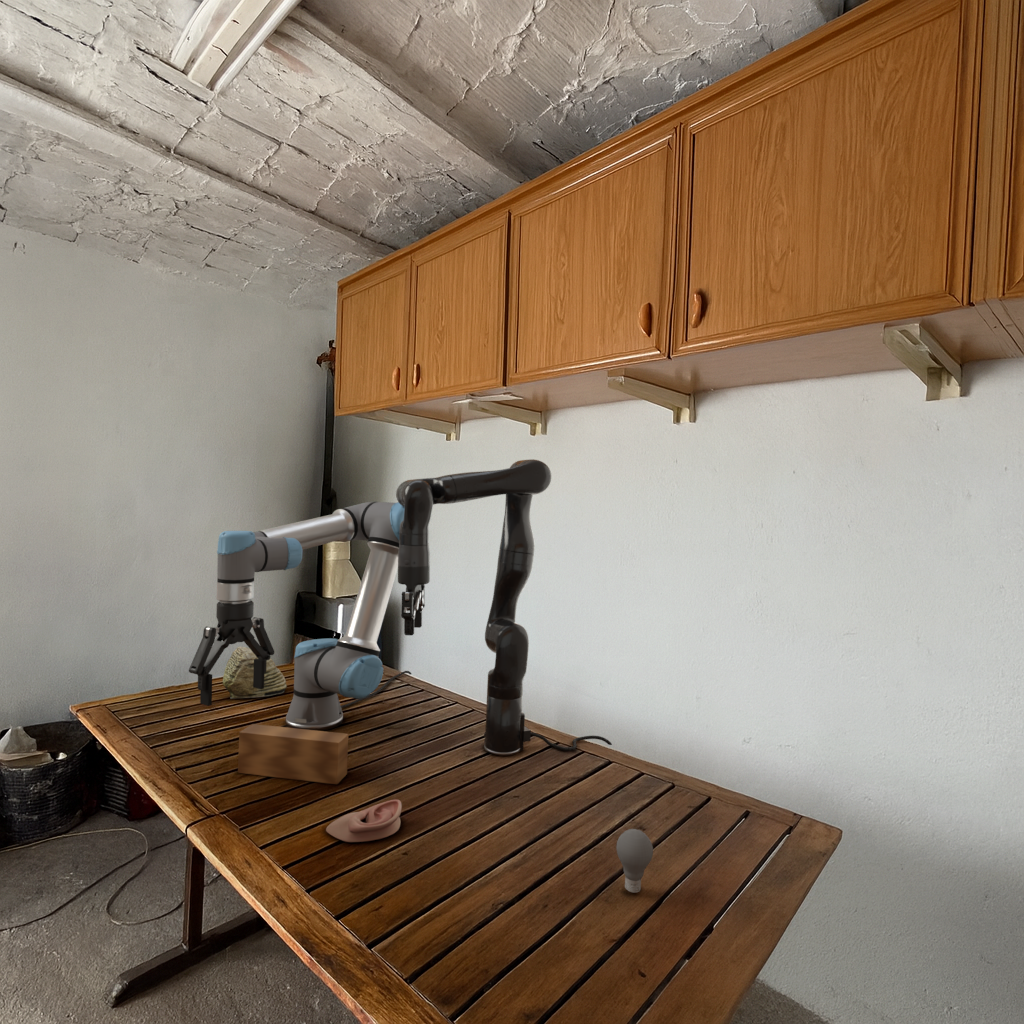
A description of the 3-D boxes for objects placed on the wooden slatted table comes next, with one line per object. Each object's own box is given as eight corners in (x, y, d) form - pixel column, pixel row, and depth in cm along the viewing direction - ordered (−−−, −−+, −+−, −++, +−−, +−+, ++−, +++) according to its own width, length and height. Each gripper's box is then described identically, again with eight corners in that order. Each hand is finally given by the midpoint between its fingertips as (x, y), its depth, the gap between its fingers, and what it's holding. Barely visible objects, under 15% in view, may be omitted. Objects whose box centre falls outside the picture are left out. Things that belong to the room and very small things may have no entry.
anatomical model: (318, 816, 117) (346, 789, 129) (317, 837, 118) (346, 808, 129) (385, 827, 115) (408, 798, 126) (384, 848, 115) (407, 818, 126)
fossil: (218, 695, 195) (220, 647, 195) (278, 685, 208) (279, 640, 207) (228, 703, 189) (230, 653, 188) (289, 692, 201) (290, 645, 201)
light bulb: (610, 879, 108) (613, 822, 108) (644, 879, 109) (647, 822, 109) (619, 902, 102) (622, 840, 102) (655, 901, 103) (658, 840, 103)
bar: (237, 772, 143) (239, 732, 143) (251, 763, 149) (252, 723, 149) (336, 784, 140) (338, 742, 140) (347, 774, 145) (348, 733, 145)
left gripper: (194, 611, 127) (192, 715, 128) (291, 595, 149) (289, 684, 150) (171, 606, 131) (169, 708, 131) (269, 592, 153) (267, 679, 153)
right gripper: (423, 567, 143) (422, 638, 144) (435, 560, 158) (434, 625, 158) (390, 566, 144) (390, 637, 144) (405, 559, 158) (404, 624, 159)
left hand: (233, 695), depth 141 cm, fingers open, 13 cm apart
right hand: (413, 631), depth 151 cm, fingers open, 8 cm apart
